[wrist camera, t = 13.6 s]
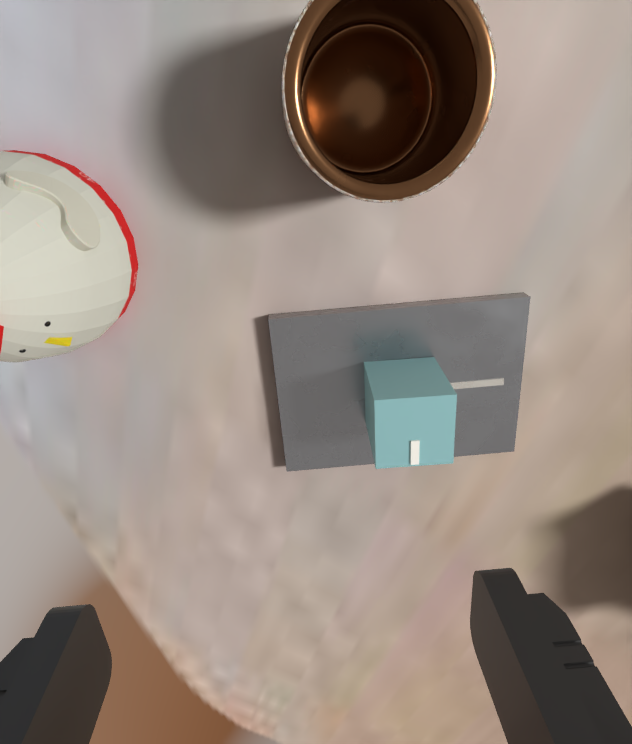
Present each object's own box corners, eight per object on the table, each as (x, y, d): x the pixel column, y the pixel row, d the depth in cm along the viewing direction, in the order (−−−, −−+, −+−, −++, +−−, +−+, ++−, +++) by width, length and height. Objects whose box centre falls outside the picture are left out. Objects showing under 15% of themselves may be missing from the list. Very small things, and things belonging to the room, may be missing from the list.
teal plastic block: (363, 361, 40) (374, 401, 34) (434, 356, 40) (457, 395, 34) (365, 422, 42) (376, 469, 36) (432, 418, 42) (453, 464, 36)
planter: (309, 209, 36) (315, 230, 27) (260, 37, 32) (248, -4, 23) (458, 163, 35) (512, 169, 27) (428, -21, 31) (482, -85, 22)
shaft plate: (286, 463, 45) (286, 505, 40) (268, 314, 39) (265, 340, 34) (508, 443, 45) (536, 482, 40) (523, 292, 39) (558, 315, 34)
